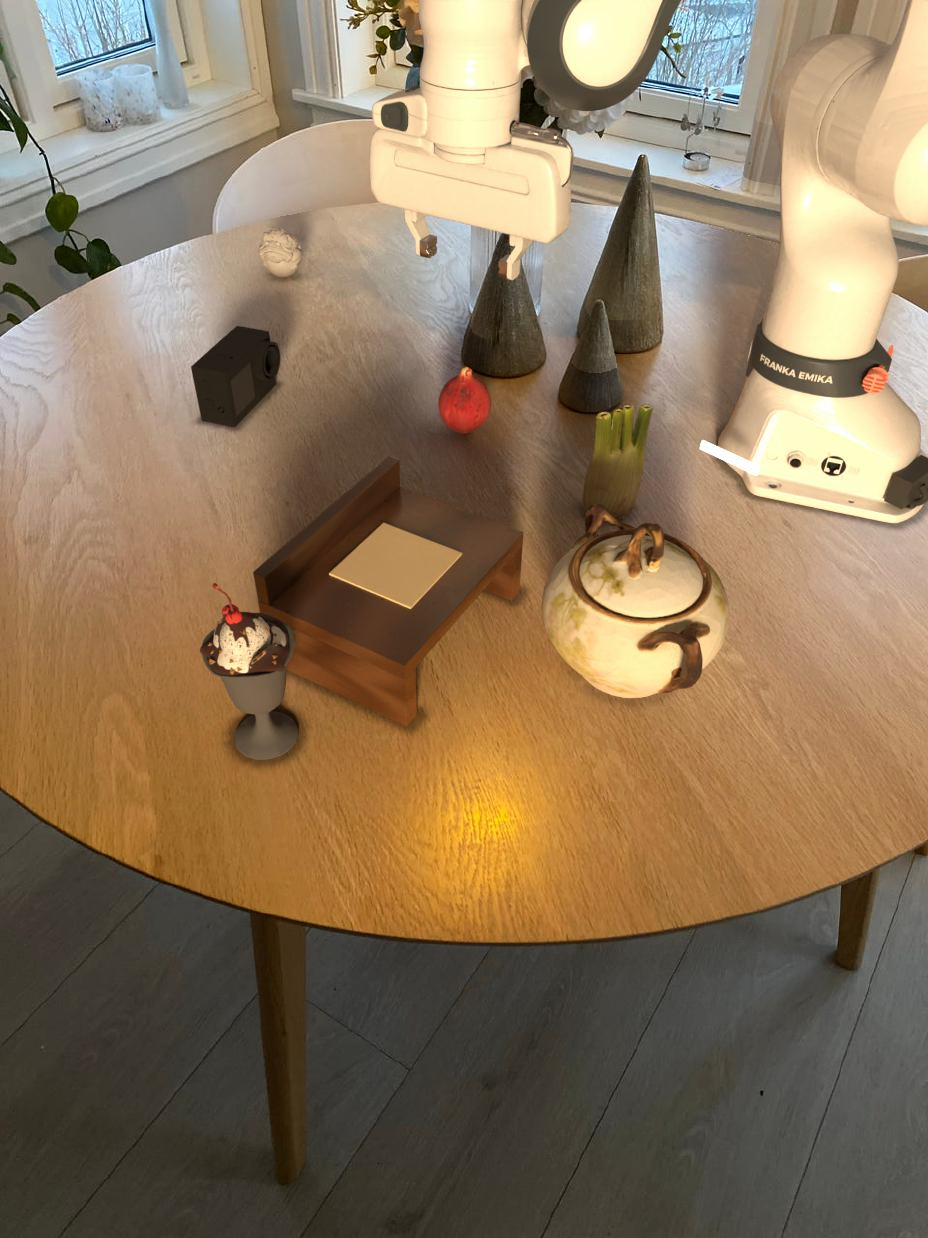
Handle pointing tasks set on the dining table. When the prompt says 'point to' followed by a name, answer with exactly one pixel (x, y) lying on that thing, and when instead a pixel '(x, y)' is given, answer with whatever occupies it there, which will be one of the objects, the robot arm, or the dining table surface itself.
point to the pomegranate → (464, 402)
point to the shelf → (383, 587)
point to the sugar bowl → (634, 608)
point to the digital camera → (235, 375)
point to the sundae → (254, 677)
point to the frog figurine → (280, 252)
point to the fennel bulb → (617, 460)
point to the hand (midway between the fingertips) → (466, 265)
